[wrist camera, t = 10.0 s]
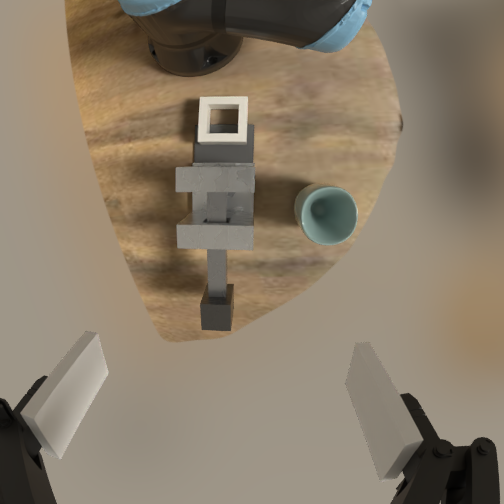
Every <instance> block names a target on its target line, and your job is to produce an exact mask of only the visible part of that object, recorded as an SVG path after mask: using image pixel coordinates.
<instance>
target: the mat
mask: <svg viewBox="0 0 504 504" xmlns="http://www.w3.org/2000/svg"><path fill="white" fill-rule="evenodd" d="M210 133H237V134H238V124H220V125H210V130H209V134H210ZM253 150H254V125H247V145H226V144H215V145H201V144H200V143H199V142H198V125H195V158H194V163H253Z"/></svg>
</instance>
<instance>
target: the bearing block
mask: <svg viewBox="0 0 504 504" xmlns="http://www.w3.org/2000/svg"><path fill="white" fill-rule="evenodd" d="M254 164H255V163H193V166H187V167H176V192H192V201H193V211H192V212H191V213H190V214H189V215H187V216H186V217H185V218H184V219H183V220H181V221H180V222H179V223H178V224H177V248H183V249H226V250H253V232H254V220H253V202H254V193H255V166H254ZM207 192H228V197H227V223H207Z"/></svg>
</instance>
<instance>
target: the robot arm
mask: <svg viewBox="0 0 504 504" xmlns="http://www.w3.org/2000/svg"><path fill="white" fill-rule="evenodd" d="M118 1H119V3H120V4H121V7H122V9H123V10H124V12H125V13H127V14H128V15H129V16H130V17H131V18H132V19H133V20H134V21H135V22H136V23H137V24H138V25H139V26H140V27H141V28H142V29H143V30H144V31H145V32H146V33H147V34H148V45H149V49H150V52H151V54H152V56H153V58H154V59H155V61H156V62H157V63H158V64H159V65H160V66H161V67H162V68H164V69H165V70H167V71H168V72H170V73H172V74H175V75H179V76H185V77H195V76H202V75H206V74H209V73H212V72H214V71H217V70H219V69H220V68H222V67H224V66H225V65H226V64H228V63H229V62H230V61H231V60H232V59H233V58H234V57H235V55H236V54H237V53H238V51H239V49H240V47H241V45H242V41H243V37H249V38H255V39H261V40H266V41H272V42H277V43H282V44H286V45H291V46H295V47H296V48H298V49H310V50H315V51H320V52H324V53H332V52H337V51H339V50H341V49H343V48H344V47H345V46H346V45H348V44H349V43H350V42H351V40H352V39H353V38H354V37H355V35H356V34H357V33H358V31H359V30H360V28H361V26H362V25H363V23H364V21H365V19H366V17H367V10H368V8H369V7H370V6H371V3H372V0H118ZM108 374H109V372H108V369H107V366H106V362H105V359H104V355H103V351H102V348H101V344H100V340H99V336H98V333H96V332H88V331H86V332H85V333H84V334H83V335H82V336H81V337H80V338H79V340H78V341H77V342H76V343H75V344H74V346H73V347H72V348H71V349H70V351H69V352H68V353H67V354H66V355H65V356H64V358H63V359H62V360H61V361H60V363H59V364H58V365H57V366H56V368H55V369H54V370H53V371H52V373H51V374H50V375H49V376H43V377H41V378H40V379H38V380H37V381H36V382H35V383H34V384H33V386H32V387H31V389H29V390H28V392H27V394H25V396H24V397H23V398H22V399H21V401H20V402H19V403H18V405H17V406H16V407H15V409H14V410H13V411H12V409H11V407H10V406H9V404H8V402H7V401H6V400H5V399H2V398H0V504H57V503H56V500H55V497H54V494H53V492H52V489H51V486H50V483H49V480H48V477H47V473H46V470H45V466H44V463H43V459H42V456H41V454H40V452H39V451H40V449H41V447H42V448H43V449H44V451H45V452H46V453H47V454H48V455H50V456H52V457H55V458H57V459H61V458H62V456H63V454H64V452H65V450H66V448H67V446H68V444H69V442H70V441H71V439H72V437H73V435H74V433H75V431H76V429H77V428H78V426H79V424H80V422H81V420H82V418H83V417H84V415H85V413H86V411H87V410H88V408H89V406H90V404H91V402H92V401H93V399H94V397H95V396H96V394H97V392H98V390H99V389H100V387H101V385H102V384H103V382H104V380H105V379H106V377H107V375H108ZM345 384H346V387H347V390H348V392H349V395H350V398H351V400H352V403H353V406H354V408H355V411H356V414H357V417H358V419H359V422H360V425H361V428H362V430H363V433H364V436H365V439H366V442H367V444H368V447H369V450H370V453H371V456H372V459H373V462H374V465H375V468H376V471H377V473H378V477H379V480H380V482H383V481H387V480H391V479H395V478H397V477H398V476H399V474H400V473H401V472H402V471H403V474H404V476H405V478H404V479H403V481H402V482H401V483H400V484H399V485H398V487H397V488H396V489H397V492H396V494H395V496H394V498H393V500H392V502H391V504H439V503H440V501H441V504H500V489H499V473H498V461H497V452H496V447H495V444H494V443H493V442H492V441H491V440H490V439H488V438H485V437H481V438H477V439H475V440H474V441H473V443H472V444H471V445H470V446H458V447H455V446H453V445H452V444H451V443H450V442H448V441H446V440H443V439H440V438H439V437H438V435H437V433H436V432H435V430H434V428H433V426H432V425H431V423H430V421H429V419H428V418H427V416H425V412H424V411H423V409H422V407H421V406H420V404H419V402H418V400H417V399H416V398H414V397H413V396H412V395H411V394H409V393H406V394H401V395H399V393H398V391H397V389H396V387H395V386H394V384H393V382H392V381H391V379H390V377H389V375H388V373H387V372H386V370H385V368H384V366H383V365H382V363H381V361H380V359H379V358H378V356H377V354H376V353H375V351H374V349H373V347H372V346H371V344H370V343H369V342H365V343H364V342H363V343H356V344H355V347H354V352H353V356H352V360H351V364H350V368H349V372H348V375H347V379H346V383H345Z"/></svg>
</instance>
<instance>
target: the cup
mask: <svg viewBox="0 0 504 504" xmlns="http://www.w3.org/2000/svg"><path fill="white" fill-rule="evenodd" d="M294 214H295V218H296V221H297V223H298V225H299V227H300V229H301V230H302V231H303V233H304V234H305V235H306V236H307V237H308V238H309V239H310V240H311V241H313V242H315V243H317V244H321V245H335V244H339V243H341V242H343V241H345V240H347V239H348V238H349V237H350V236H351V235H352V233H353V232H354V230H355V228H356V224H357V219H358V212H357V206H356V203H355V201H354V199H353V197H352V196H351V195H350V193H348V192H347V191H346V190H344V189H342V188H340V187H338V186H334V185H330V184H325V183H316V184H311V185H308V186H306V187H304V188H303V189H301V190H300V191H299V193H298V194H297V196H296V198H295V202H294Z"/></svg>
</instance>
